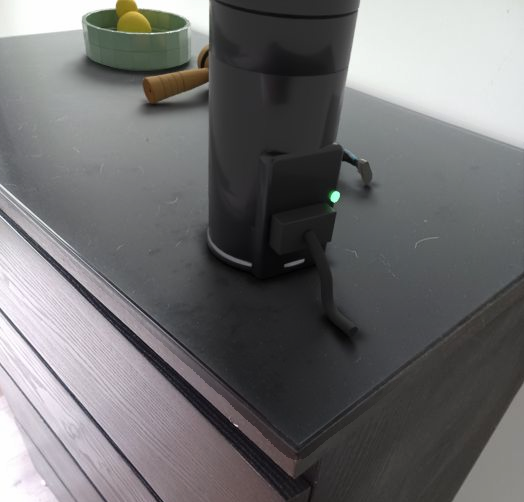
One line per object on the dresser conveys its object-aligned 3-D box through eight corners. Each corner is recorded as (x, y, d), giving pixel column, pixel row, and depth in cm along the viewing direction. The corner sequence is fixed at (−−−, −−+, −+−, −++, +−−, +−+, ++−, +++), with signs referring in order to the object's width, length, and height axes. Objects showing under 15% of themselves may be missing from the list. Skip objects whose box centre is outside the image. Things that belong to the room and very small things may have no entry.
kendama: (168, 126, 64) (288, 87, 70) (154, 69, 60) (283, 33, 67) (144, 116, 70) (257, 81, 76) (129, 63, 66) (250, 30, 72)
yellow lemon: (159, 48, 79) (150, -8, 75) (127, 51, 77) (117, -7, 73) (143, 50, 84) (134, -3, 80) (112, 52, 82) (102, -2, 78)
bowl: (207, 69, 78) (208, 30, 74) (106, 78, 72) (101, 36, 68) (167, 41, 87) (165, 6, 84) (74, 47, 81) (68, 9, 77)
